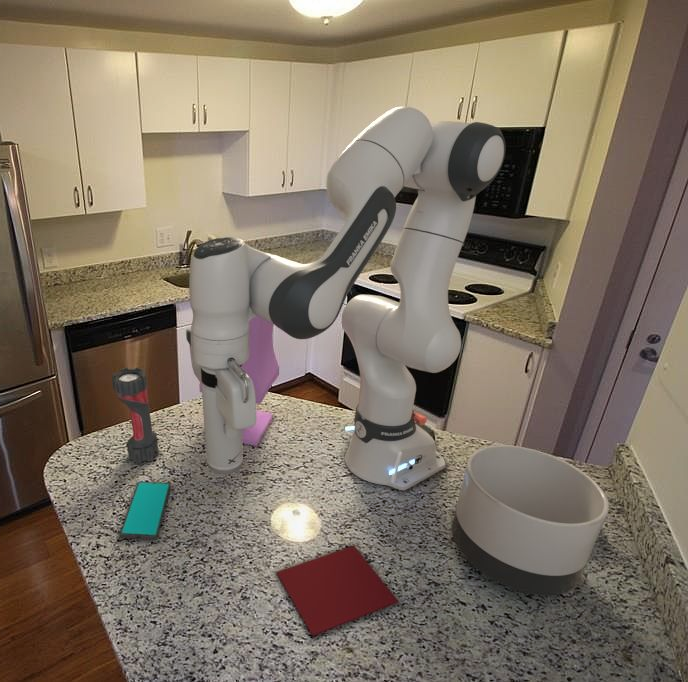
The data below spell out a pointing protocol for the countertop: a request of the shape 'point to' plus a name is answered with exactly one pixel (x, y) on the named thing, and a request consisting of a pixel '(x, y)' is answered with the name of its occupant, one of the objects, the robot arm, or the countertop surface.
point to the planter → (528, 518)
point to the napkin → (335, 589)
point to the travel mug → (219, 433)
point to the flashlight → (137, 413)
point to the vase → (259, 374)
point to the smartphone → (146, 511)
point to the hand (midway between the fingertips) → (221, 422)
